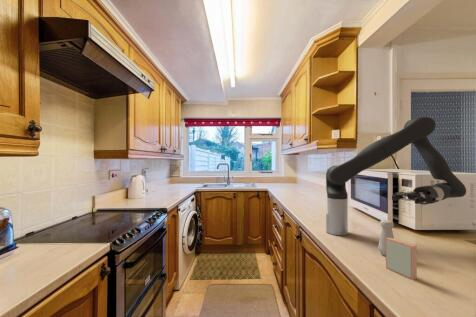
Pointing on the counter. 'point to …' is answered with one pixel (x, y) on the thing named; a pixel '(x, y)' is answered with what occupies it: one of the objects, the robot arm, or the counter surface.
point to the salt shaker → (385, 235)
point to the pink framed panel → (401, 258)
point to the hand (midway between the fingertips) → (403, 199)
